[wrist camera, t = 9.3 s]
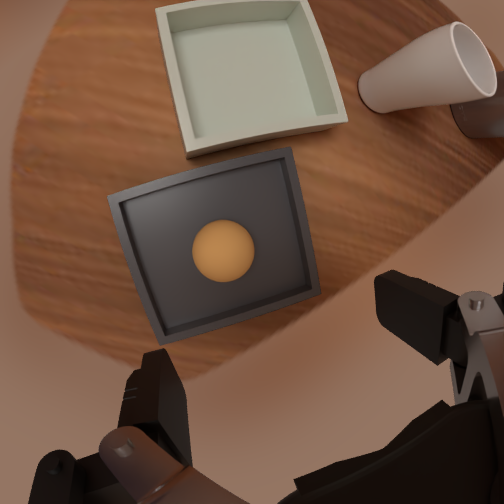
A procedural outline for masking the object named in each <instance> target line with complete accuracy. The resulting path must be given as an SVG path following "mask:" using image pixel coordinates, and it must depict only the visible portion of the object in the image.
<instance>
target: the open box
mask: <svg viewBox="0 0 504 504" xmlns="http://www.w3.org/2000/svg"><path fill="white" fill-rule="evenodd" d="M155 11H156V21H157V29H158V37H159V42H160V47H161V51H162V56H163V61H164V66H165V71H166V75H167V80H168V84H169V89H170V93H171V98H172V102H173V107H174V111H175V115H176V119H177V124H178V128H179V132H180V136H181V140H182V144H183V148H184V152H185V156H186V159H189V158H192V157H196V156H200V155H204V154H208V153H212V152H216V151H220V150H224V149H228V148H233V147H237V146H241V145H246V144H251V143H255V142H260V141H265V140H270V139H276V138H281V137H286V136H292V135H298V134H304V133H310V132H317V131H323V130H326V129H329V128H331V127H334V126H337V125H340V124H343V123H346V122H348V118H347V115H346V111H345V107H344V104H343V100H342V97H341V93H340V90H339V86H338V83H337V80H336V77H335V74H334V70H333V67H332V64H331V61H330V58H329V55H328V53H327V50H326V47H325V44H324V41H323V39H322V36H321V33H320V31H319V28H318V25H317V23H316V20H315V18H314V15H313V13H312V11H311V8H310V6H309V3H308V1H307V0H197V1H191V2H185V3H180V4H174V5H169V6H165V7H160V8H156V9H155Z"/></svg>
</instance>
